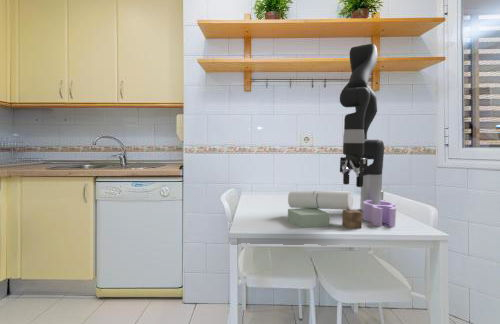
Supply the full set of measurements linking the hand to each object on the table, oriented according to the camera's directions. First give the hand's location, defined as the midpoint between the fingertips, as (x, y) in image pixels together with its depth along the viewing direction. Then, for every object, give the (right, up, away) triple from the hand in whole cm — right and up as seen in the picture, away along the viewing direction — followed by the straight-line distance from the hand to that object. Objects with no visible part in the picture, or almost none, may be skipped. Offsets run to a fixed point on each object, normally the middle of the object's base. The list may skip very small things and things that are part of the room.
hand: (352, 185), depth 119 cm
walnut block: (0, -16, +1) cm, 16 cm away
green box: (-15, -16, +7) cm, 23 cm away
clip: (+15, -16, +11) cm, 24 cm away
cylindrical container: (-21, -7, +18) cm, 28 cm away
